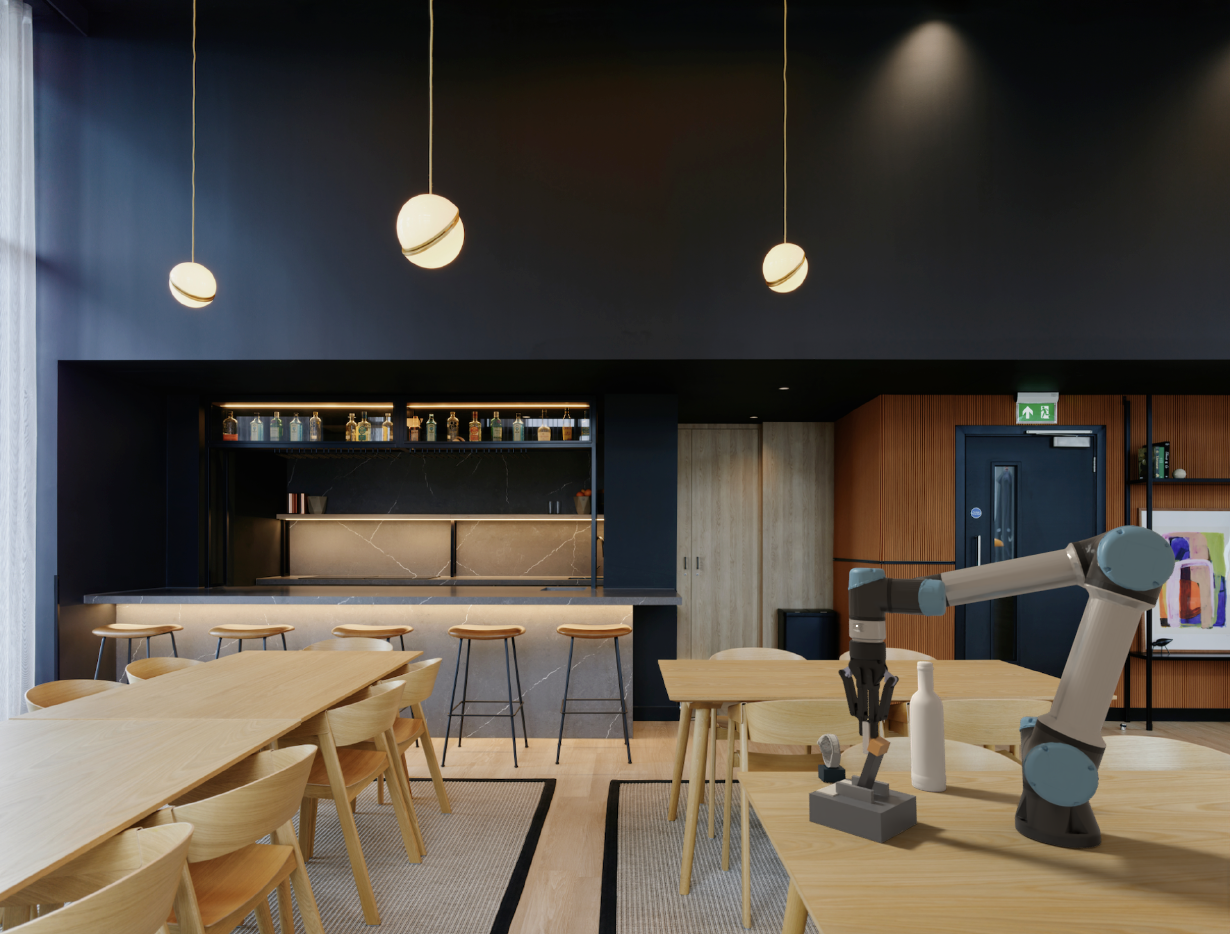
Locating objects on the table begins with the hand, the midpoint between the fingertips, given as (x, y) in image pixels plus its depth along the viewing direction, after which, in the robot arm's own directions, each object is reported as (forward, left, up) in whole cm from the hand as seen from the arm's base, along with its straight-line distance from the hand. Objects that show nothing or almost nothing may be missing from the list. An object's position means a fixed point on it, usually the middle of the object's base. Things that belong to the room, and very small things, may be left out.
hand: (868, 752), depth 156 cm
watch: (+22, -22, -15) cm, 34 cm away
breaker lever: (+2, 0, -9) cm, 9 cm away
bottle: (+3, -35, -15) cm, 38 cm away
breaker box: (+2, 0, -15) cm, 15 cm away
